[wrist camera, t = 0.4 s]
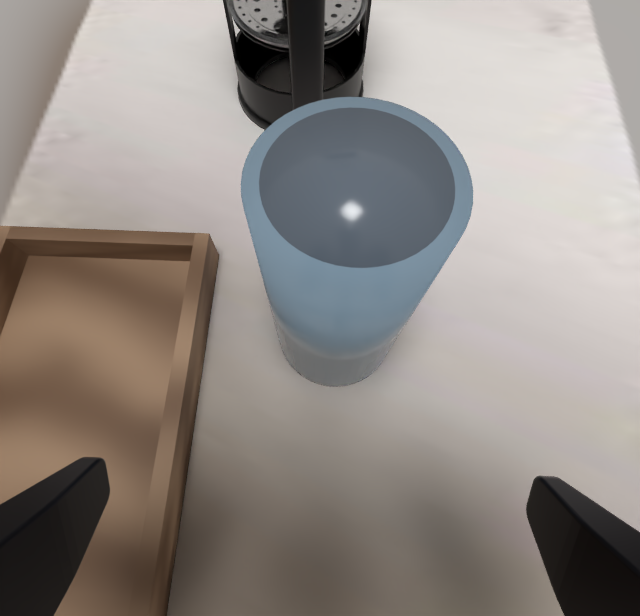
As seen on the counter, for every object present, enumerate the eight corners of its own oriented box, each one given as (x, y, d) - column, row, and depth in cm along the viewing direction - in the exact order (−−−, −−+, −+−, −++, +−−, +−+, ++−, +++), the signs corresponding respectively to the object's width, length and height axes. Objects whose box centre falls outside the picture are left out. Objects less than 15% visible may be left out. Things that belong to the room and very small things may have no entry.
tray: (159, 659, 17) (136, 688, 15) (-116, 649, 17) (-183, 677, 15) (219, 255, 25) (209, 233, 23) (25, 248, 25) (-4, 225, 23)
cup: (411, 348, 23) (522, 211, 11) (316, 409, 21) (320, 331, 9) (349, 263, 25) (384, 67, 13) (259, 314, 23) (200, 149, 11)
